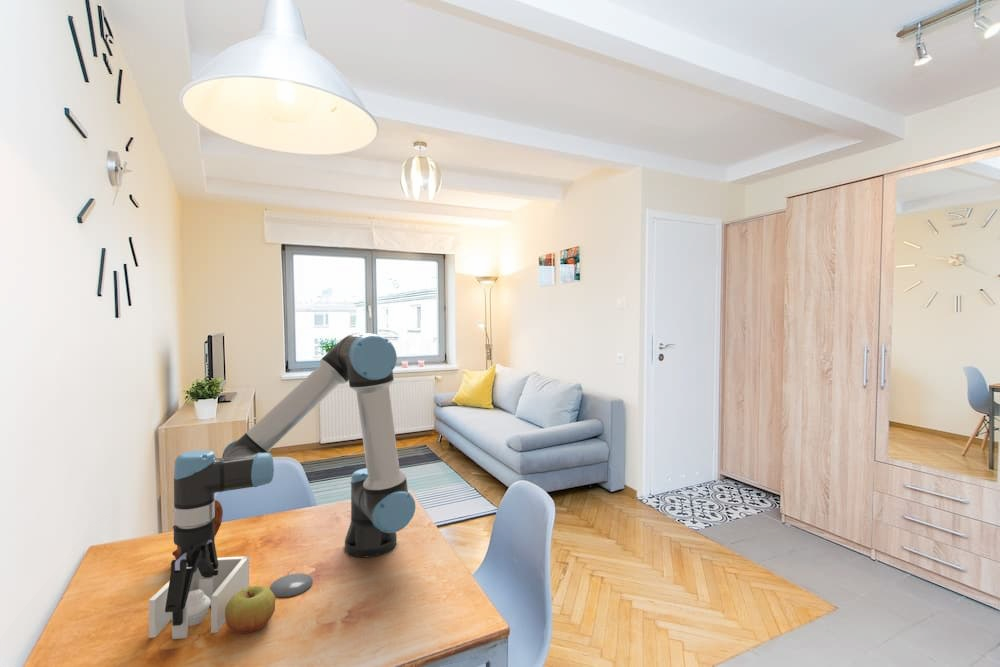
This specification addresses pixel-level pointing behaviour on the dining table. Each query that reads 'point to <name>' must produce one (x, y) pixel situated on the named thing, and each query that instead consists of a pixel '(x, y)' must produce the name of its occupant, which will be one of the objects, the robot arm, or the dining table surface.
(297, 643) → the dining table surface
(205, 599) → the white rounded ribbed piece
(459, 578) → the dining table surface
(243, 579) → the cubby
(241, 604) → the apple
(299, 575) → the coaster
